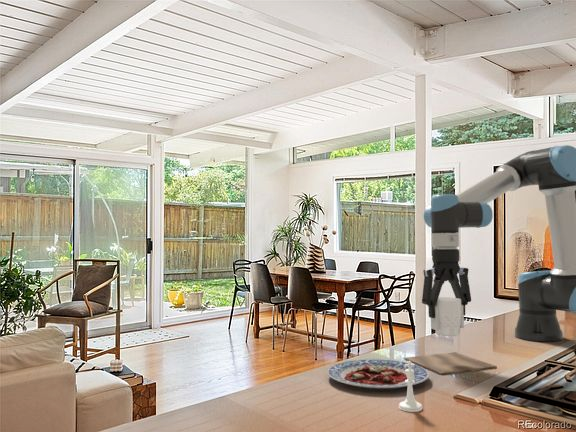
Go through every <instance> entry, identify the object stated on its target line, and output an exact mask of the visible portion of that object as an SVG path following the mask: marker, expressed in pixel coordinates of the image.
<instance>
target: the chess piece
mask: <svg viewBox="0 0 576 432" xmlns="http://www.w3.org/2000/svg"><path fill="white" fill-rule="evenodd" d="M407 363H408V364H405V366H406V367H408V369H406V370H405V373H406V376H407V380H405V383H408V386H406V387H407V390H406V398H405V399H404V401H401V402H400V403H399V404H398V409H400V410H401V411H403V412H408V413H409V412H410V413H417V412H420V411H422V410H423V405H422V404H421V403H420V402H418V401H417V400H416V399H415V397H414V395H415V394H414V389H413V385H412V384H413V383H415V381H414V380H412V378H413V374H414V370H413V369H411V366H414V365H415V364H414V363H411V361H407Z"/></svg>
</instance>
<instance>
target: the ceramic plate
mask: <svg viewBox="0 0 576 432" xmlns="http://www.w3.org/2000/svg"><path fill="white" fill-rule="evenodd" d="M405 364H408V361H406V362H405V361H399V360H391V359H377V358H376V359H374V358H373V359H356V360H347V361H343V362H339V363H336V364H334V365H332V366H330V367H329V368H328V369H327V375H328V377H330V378H331V379H333V380H334V381H336V382H338V383H342V384H345V385H350V386H353V387H358V388H361V389H362V388H363V389H368V390H394V389H399V388H404V387H408V383H405V380H407V376H406V373H405V370H406V369H408V367H406V366H405ZM411 369H413V370H414V374H413V378H412V380H414V381H415V383H413V384H412V386H415V385H418V384H420V383H423V382H426V381H427V380H428V379H429V377H430V373H429V370H428V369H426V368H423V367H421V366H419V365H416V364H414V366H411Z"/></svg>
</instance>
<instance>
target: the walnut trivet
mask: <svg viewBox="0 0 576 432" xmlns="http://www.w3.org/2000/svg"><path fill="white" fill-rule="evenodd" d="M404 359H405V360H404V361H406V362H408V361H411V362H412V363H411V364H414V365H417V366H420V367H422V368H424V369H425V370H427V371H430V372H432V373H435V374H437V375H440V376H445V375H452V374H460V373H468V372H477V371H484V370H485V371H486V370H491V369H497V368H498V367H497V365H495V364H493V363H492V364H491V363H488V362H485V361H484V360H480V359H476V358H473V357H471V356H468V355H465V354H462V353H459V352H456V351H455V352H446V353H437V354H436V353H435V354H434V353H433V354H425V355H418V356H409V357H408V356H407V357H404Z"/></svg>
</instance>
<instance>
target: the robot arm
mask: <svg viewBox="0 0 576 432" xmlns="http://www.w3.org/2000/svg"><path fill="white" fill-rule="evenodd" d="M536 185H537V186H538V191H539V192H540V193H541V194H543V195H544V198H545V206H546V212H547V213H546V214H547V221H548V228H549V229H548V230H549V236H550V243H551V252H552V259H553V260H552V261H553V265H554V266H553V268H552V269H550V270H539V271H527V272H526V271H525V272H521V273H520V274H519V275H518V283H517V286H518V287H517V288H518V289H517V290H518V305H519V306H518V308H519V314H518V315H519V316H518V319H517V322H516V325H515V328H514V337H516V338H518V339H522V340H525V341H526V340H527V341H534V342H558V341H562V340H564V332H563V330H562V329H561V326H560V323H559V320H558V319H559V318H558V317H557V311H562V312H569V313H572V314H576V147H575V146H573V145H568V144H567V145H565V144H564V145H556V146H552V147H551V146H550V147H545V148H541V149H535V150H530V151H526V152H524V153H522V154H519V155H517V156H516V157H514V158H512V159H510V160H509V161H507V162H505V163H503V164H502V165H500V166H498V167H497V168H496V171H495V172H494V173H492V174H490V175H488V176H486V177H485V178H483V179H481V180H480V181H478V182H476V183H474V184H473V185H471V186H469V187H467V188H466V189H464V190H462V191H461V192H458V193H457V194H453V193H449V194H446V193H443V194H435V195H433V196H432V197H431V200H430V205H429V206H427V207H426V208H425V210H424V212H423V221H424V223H425V224H426V226H427V227H429V228H431V247H432V248H433V249H432V250H431V261H432V267H431V268H424V269H423V272H422V273H423V277H424V279H423V289H422V298H421V303H422V304H423V305H426V306H427V307H428V308H427V309H428V317H429V318H430V326H431V327H430V329H431V330H439V309H438V307H437V306H436V303H437V300H438V298H440V293H441V291H442V287H443V285H444V284H445V282H448V283H450V286H451V289H452V291H453V293H454V298H459V299H461V325H460V329H464V328H465V325H464V324H465V319H464V317H465V316H466V306H467V305H468V304H469V303H471V302H472V296H471V290H470V289H471V288H470V282H469V268H468V267H461V266H460V263H459V262H460V260H461V259H460V257H461V256H460V249H458V248H459V247H460V234H459V233H460V228H461V229H462V228H476V229H477V228H479V229H480V228H486V227H488V226H489V225H490V224H491V222H492V220H493V209H492V207H491V206H490V205H489V203H491V202H492V201H494V200H496V199H498V197H501V196H502V195H504V194H505V193H507V192H514V191H516V190H518V189H520V188H523V187H528V186H529V187H530V186H536Z"/></svg>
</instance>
